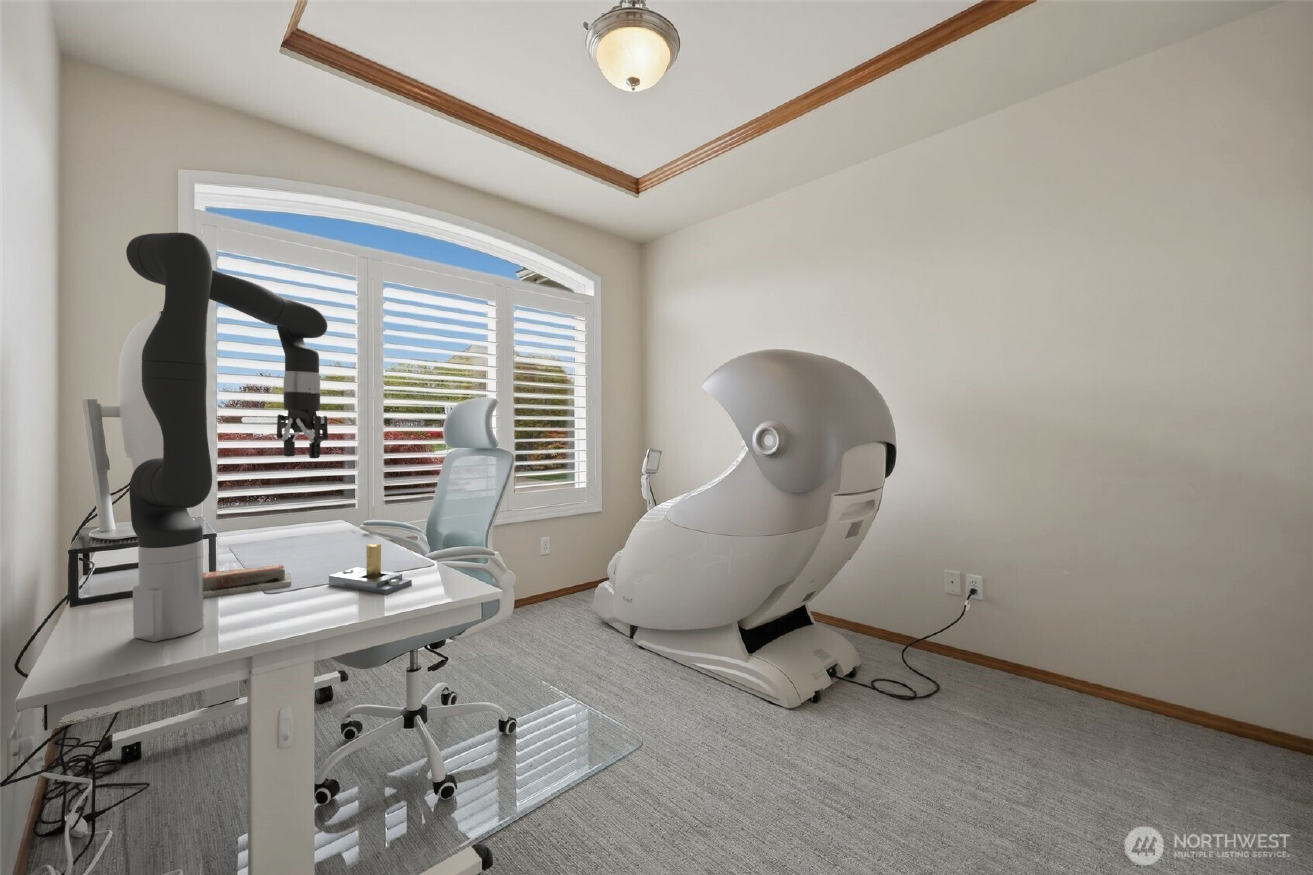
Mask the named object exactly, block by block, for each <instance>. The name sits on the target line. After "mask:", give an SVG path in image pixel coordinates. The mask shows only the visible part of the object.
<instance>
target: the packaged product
mask: <svg viewBox="0 0 1313 875" xmlns="http://www.w3.org/2000/svg"><path fill="white" fill-rule="evenodd" d="M291 586H292V578H291V573H290V572H288V573H286V571H285V565H281V564H278V565H277V564H276V565H266V566H256V567H246V568H238V569H227V570H216V571H207V572H203V599H205V598H206V599H207V598H213V597H220V596H229V595H235V594H245V593H252V592H257V591H258V592H259V591H265V590H273V589H279V588H281V589H282V588H287V587H291Z"/></svg>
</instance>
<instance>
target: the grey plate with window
mask: <svg viewBox="0 0 1313 875" xmlns="http://www.w3.org/2000/svg"><path fill="white" fill-rule="evenodd" d="M328 585H329V586H332V587H339V588H345V589H351V590H357V591H362V592H363V591H364V592H369V593H375V592H377V594H381V593H382V595H383V594H384V595H388V593H389V594H390V592H391V593H393V592H396V591H400V590H402V589H404V588H407V587H409V585H410V586H412V585H413V582H412V579H408V578H403V573H400V572H392V571H386V570H384V571H383V570H381V577H379V578H376V579H367V578H366V568H365V567H364V568H363V567H357V566H356V567H353V568H349V569H347V570H343V571H340V572H336V573H333V574H329V575H328Z"/></svg>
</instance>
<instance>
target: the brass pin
mask: <svg viewBox="0 0 1313 875" xmlns="http://www.w3.org/2000/svg"><path fill="white" fill-rule="evenodd" d="M365 548H366V551H365V552H366V553H365V554H366V558H365V561H366V562H365V563H366V565H365V566H366V568H365V569H366V578H367V579H376V578H379V577H381V571H382V544H381V543H372V544H371V543H370V544H367V545H366V546H365Z"/></svg>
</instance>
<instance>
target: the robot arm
mask: <svg viewBox="0 0 1313 875" xmlns="http://www.w3.org/2000/svg"><path fill="white" fill-rule="evenodd" d="M125 252H126V253H125V254H126V258H127V261H128V264H129V265H130V267H131V268H132V269H133V271H134V272H135V273H137V274H138V275H139V276H140V277H142V278H143V279H145V280H147V281H150V282H151V283H155V284H158V285H162V286H164V288H165V289H164V292H165V293H164V303H163V304H164V305H163V308H162V311H161V313H160V315H159V317H158V320H157V322H156V323H155V325H154V326H153V329H151V332H150V334H149V335H148V337H147V339H146V341H145V344H144V345H143V349H142V352H141V385H142V386H141V387H142V391H143V393H144V397H145V399H146V401H147V403H148V405H149V408H150V409H151V411H152V413H153V414H154V417H155V418H156V421H157V422H158V424H159V427H160V429H161V430H160V431H161V434H162V442H163V444H162V445H163V446H162V451H163V452H162V453H163V454H162V455H163V456H162V457H157V458H156V457H155V458H151V459H148V460H146V461H143V462H142V463H140V464H139V465H138V466H136V468H135V470H134V471H133V472H132V475H131V477H130V481H129V490H128V491H129V505H130V508H129V509H130V520H131V527H132V530H133V532H134V534H135V535H136V537H137V545H138V546H137V547H138V548H137V549H138V550H137V554H138V555H137V556H138V557H137V558H138V559H137V560H138V562H137V563H138V585H134V586H133V587H132V617H133V618H132V619H133V621H132V623H133V624H132V627H133V629H132V631H133V632H132V633H133V636H132V637H133V638H134V639H135V638H136V639H140V640H144V641H148V642H152V643H155V642H158V641H163V640H168V639H174V638H175V639H176V638H179V636H180V637H184V636H187V635H189V634H192V633H195V632H197V631H199V630H201V629H202V628H203V627H204V625H205V622H204V619H205V618H204V615H205V614H204V598H203V573H204V538H203V537H204V532H203V526H202V524H200V523H198V521H197V520H194V519H193V518H192V516H191V515H190V514H189V512H188V509H191V508H194V507H197V506H199V505H200V504H202V503H203V502H204V501H205V500H206V499H207V497H208V496H209V494H210V493H211V489H212V487H213V486H212V484H213V470H212V469H213V468H212V462H211V461H212V460H211V455H210V448H209V439H208V428H207V427H208V424H207V423H208V416H207V387H208V386H207V385H208V384H207V383H208V375H207V374H208V365H207V364H208V362H207V332H208V310H209V302H210V300H211V301H213V302H216V303H219V304H222V305H224V306H227V307H229V308H231V309H234V310H236V311H238V312H239V313H240V312H241V313H243V314H245V315H247V316H250V317H252V318H253V319H256V320H259V321H261V322H263V323H265V324H268V325H271V326H276V328H277V333H278V336H279V339H280V342H281V343H280V344H281V347H282V350H283V352H284V376H283V409H284V411H287V414H286V413H285V414H284V413H283V414H282V413H281V414H280V413H279V414H277V418H276V419H277V420H276V423H277V424H276V438H277V439H281V440H282V442H283V456H284V457H290V458H291V457H294V456H296V455H295V453H296V452H295V451H296V448H295V447H296V444H295V443H296V442H295V439H296V438H297V436H298V435H300V434H303V435H304V436H306V437H307V439H308V440H309V443H308V444H309V446H308V447H309V452H308V456H309V457H308V458H310V459H319V458H320V457H321V456H320V455H321V443H322V442H324V441H327V440H328V438H329V434H328V431H329V430H328V416H327V415H322V414H321V415H319V414H318V415H317V412H318V411H320V410H321V379H320V354H319V352H318V351H317V350H315V349H313V348H310V347H307V345H306V343H305V339H318V338H320V337H322V336H323V335H324V334H325V333H326V332H327V330H328V321H327V319H326V317H325V315H324V314H323V313H321V311H320V310H318V309H316V308H314V307H312V306H310V305H307V304H304V303H301V302H298V301H295V300H291V299H288V298H286V297H283V296H281V295H280V294H277V293H275V292H273V291H272V290H270V289H268V288H266V287H264V286H262V285H260V284H257V283H254V282H252V281H250V280H246V279H242V278H239V277H235V276H233V275H230V274H227V273H223V272H220V271H217V270H214V269H213V260H212V259H213V258H212V257H211V256H212V255H211V252H210V250H209V249H208V247H207V245H206V244H205V243H204V241H203V240H202V239H200V238H199V237H198V236H196V235H194V234H192V233H189V232H161V233H160V232H159V233H157V232H156V233H147V234H146V233H145V234H141V235H138V236H136V237H134V238H132V239H131V240H130V241H129V242H128V244H127V247H126V251H125ZM321 431H322V432H321ZM321 433H322V434H321Z"/></svg>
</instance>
